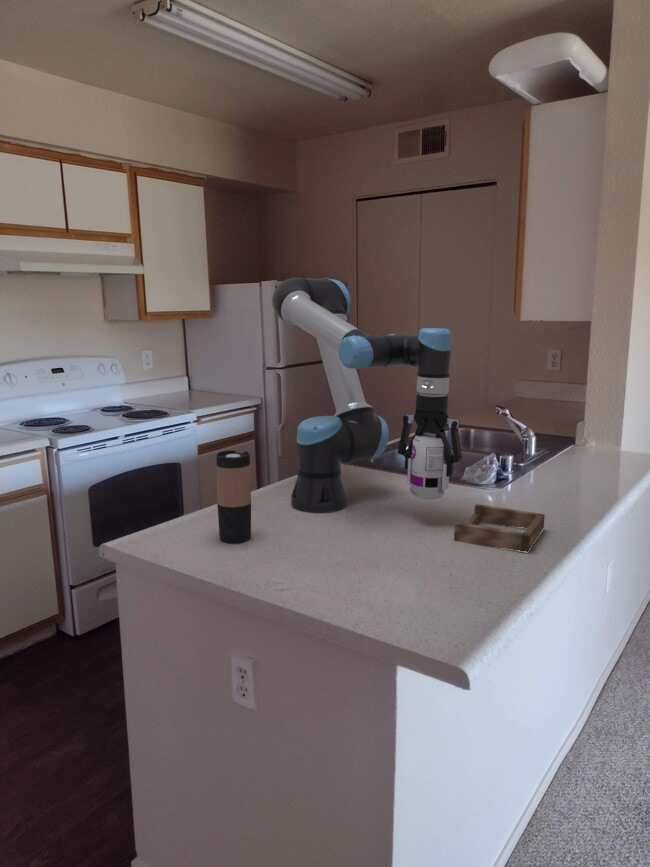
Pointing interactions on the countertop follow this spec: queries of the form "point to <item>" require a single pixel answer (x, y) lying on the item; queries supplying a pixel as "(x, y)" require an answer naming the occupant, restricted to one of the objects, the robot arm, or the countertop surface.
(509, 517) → the dock bay
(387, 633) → the countertop surface
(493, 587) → the countertop surface
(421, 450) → the supplement can
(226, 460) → the travel mug
